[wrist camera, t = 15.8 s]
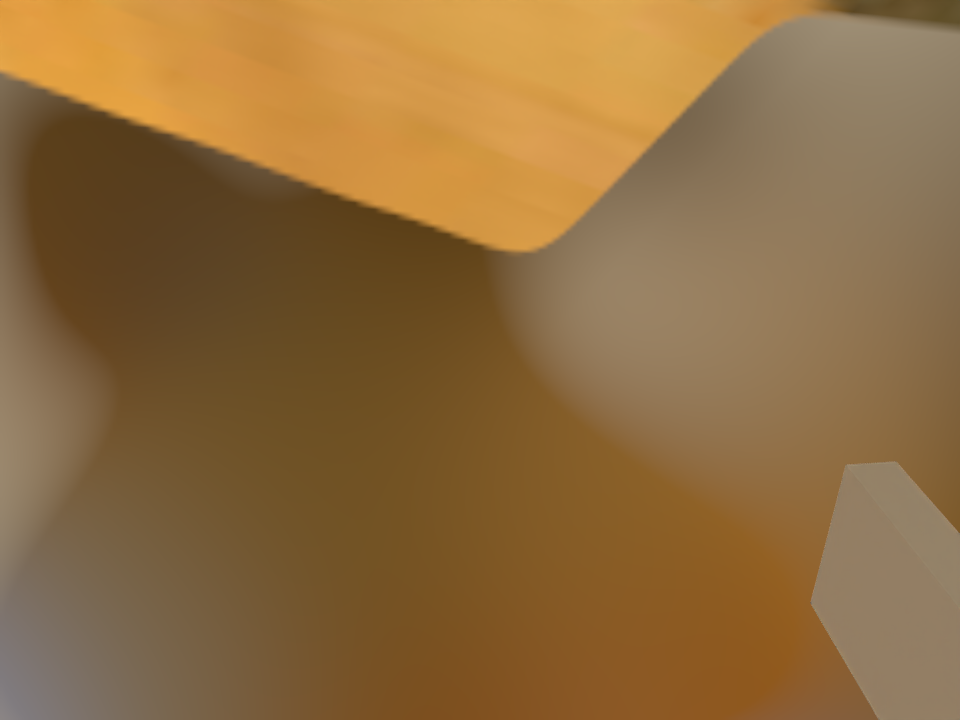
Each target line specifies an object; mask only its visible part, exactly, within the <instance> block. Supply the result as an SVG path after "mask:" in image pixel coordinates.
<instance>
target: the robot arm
mask: <svg viewBox="0 0 960 720" xmlns="http://www.w3.org/2000/svg"><path fill="white" fill-rule="evenodd" d="M811 605H812V607H813V608H814V610H815V611H816V613H817V615H818V617H819V619H820V620H821V622H822V624H823V625H824V627H825V629H826V630H827V632H828V634H829V636H830V637H831V639H832V641H833V642H834V644H835V646H836V648H837V649H838V651H839V653H840V654H841V656H842V658H843V659H844V661H845V662H846V664H847V666H848V668H849V670H850V671H851V673H852V675H853V676H854V678H855V680H856V681H857V683H858V685H859V687H860V688H861V690H862V692H863V694H864V695H865V697H866V699H867V700H868V702H869V704H870V705H871V707H872V709H873V710H874V712H875V714H876V716H877V717H878V719H879V720H960V534H959V532H958V531H957V530H956V529H955V528H954V527H953V526H952V524H951V523H950V522H949V521H948V520H947V519H946V518H945V517H944V515H943V514H942V513H941V512H940V511H939V510H938V509H937V507H936V506H935V505H934V504H933V503H932V502H931V501H930V499H928V497H927V496H926V495H925V494H924V493H923V492H922V490H921V489H920V488H919V487H918V486H917V485H916V484H915V482H914V481H913V480H912V479H911V478H910V477H909V476H908V475H907V473H906V472H905V471H904V470H903V469H902V468H901V467H900V466H899V464H898V463H897V462H882V463H868V464H867V463H866V464H850V465H846V467H845V470H844V474H843V478H842V482H841V486H840V490H839V494H838V498H837V502H836V506H835V509H834V513H833V517H832V521H831V525H830V529H829V533H828V537H827V541H826V544H825V548H824V553H823V556H822V560H821V564H820V568H819V572H818V576H817V580H816V584H815V588H814V592H813V595H812V599H811Z"/></svg>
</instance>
